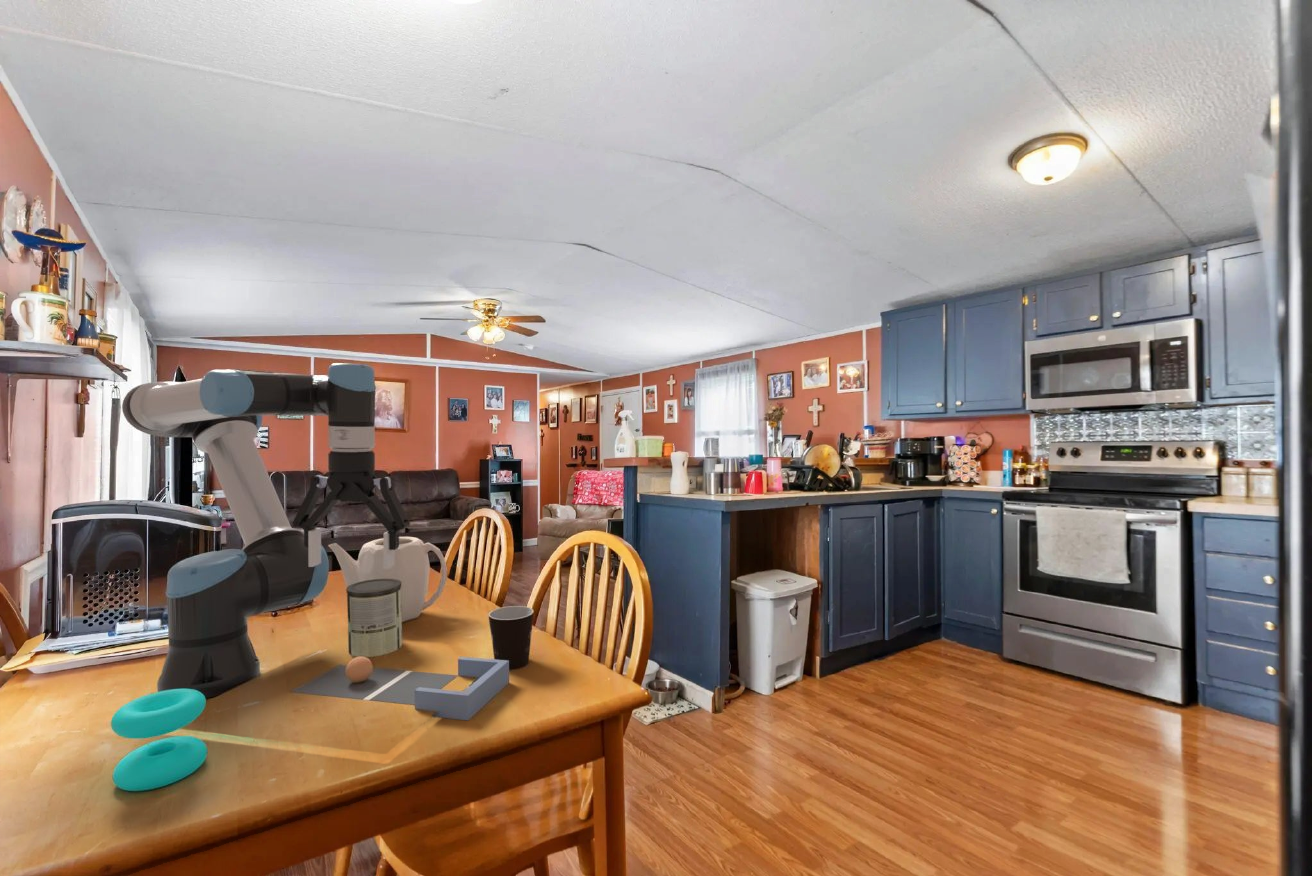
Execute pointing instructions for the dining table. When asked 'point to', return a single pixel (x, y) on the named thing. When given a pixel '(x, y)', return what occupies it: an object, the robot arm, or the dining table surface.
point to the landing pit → (474, 697)
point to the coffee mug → (511, 634)
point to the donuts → (162, 756)
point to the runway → (375, 685)
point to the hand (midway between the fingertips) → (351, 566)
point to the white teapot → (396, 571)
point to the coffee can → (374, 617)
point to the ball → (358, 669)
